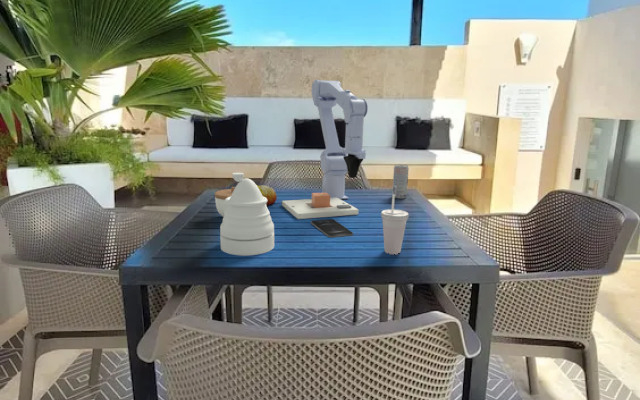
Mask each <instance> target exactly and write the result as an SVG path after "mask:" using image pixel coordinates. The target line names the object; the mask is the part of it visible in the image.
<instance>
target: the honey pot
mask: <svg viewBox="0 0 640 400" xmlns="http://www.w3.org/2000/svg"><path fill="white" fill-rule="evenodd" d="M231 175H232V178H233V180H234V181H235V182H237V184H236V186H234V187H235V189H234V191H233V193H232V195H231V196H230V197H228V198H226V199H225V203H226V204H227V208H226V211H225V212H224V218H222V222H221V223H220V227H219V231H220V234H219V235H220V238H219V239H220V250H221V251H222V252H223V253H227V254H228V255H235V256H255V255H261V254H262V255H263V254H266V253H268V252H271V251H272V250H273V249H274V248H275V224H274V222H273V221H272V216H271V215H270V212H271V211H270V210H269V209H268V207H267V206H268V205H266V203H267V201H268V200H267V198H266V197H264V196H262V194H261V192H260V190H259V188H258V187H257V184H256V183H255V181H254V180H253V179H250V177H249V178H247V177H245V178H244V176H245V174H244V172H232V174H231Z"/></svg>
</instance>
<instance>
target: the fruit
mask: <svg viewBox="0 0 640 400" xmlns="http://www.w3.org/2000/svg"><path fill="white" fill-rule="evenodd" d="M256 185H257V184H256ZM257 187H258V188H259V190H260V192H261V194H262V196H264V197H266V198H267V200H268V201H267V203H266V206H270V205H274V204H275V203H276V201H277V199H278V196H277V192H276V191H275V189H274V188H272V187H270V186H269V185H257Z"/></svg>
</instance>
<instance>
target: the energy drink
mask: <svg viewBox="0 0 640 400" xmlns="http://www.w3.org/2000/svg"><path fill="white" fill-rule="evenodd" d="M392 177H393V178H392V179H393V180H392V181H393V182H392V194H395V199H400V200H401V199H406V198H408V197H407V196H408V195H407V194H408V181H409V165H408V164H395V165H394V167H393V176H392ZM392 194H391V195H392Z"/></svg>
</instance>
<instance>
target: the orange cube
mask: <svg viewBox="0 0 640 400" xmlns="http://www.w3.org/2000/svg"><path fill="white" fill-rule="evenodd" d="M311 199H312V206H313V207H312V208H324V207H330V195H329V194H327V193H322V192H311Z"/></svg>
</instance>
